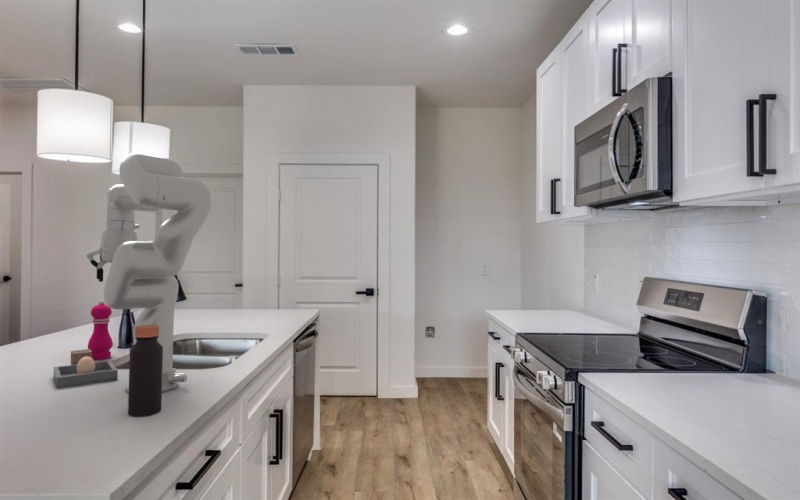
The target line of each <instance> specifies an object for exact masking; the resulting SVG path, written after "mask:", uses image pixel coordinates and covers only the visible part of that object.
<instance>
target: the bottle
mask: <svg viewBox="0 0 800 500" xmlns="http://www.w3.org/2000/svg"><path fill="white" fill-rule="evenodd" d="M158 335H159V326H158V325H142V326H137V327H135V339H136V343H135V344H134V343H133V345H132V347H130V349H129V361H128V362H129V366H128V367H129V368H128V369H129V371H128V384H129V392H128V395H127V397H128V398H127V399H128V401H127V403H128V405H127V413H128V415H129V416H130V417H134V418H135V417H136V418H141V417H148V416H149V417H150V416H152V415H153V416H154V415H156V414H158V413H160V411H161V410H162V398H163V397H162V396H163V395H162V394H163V392H162V364H163V346H162V345H161V344H160V343H159V342H158V341H157V338H158V337H159V336H158Z"/></svg>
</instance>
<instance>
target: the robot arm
mask: <svg viewBox="0 0 800 500" xmlns="http://www.w3.org/2000/svg"><path fill="white" fill-rule="evenodd" d="M183 171H184V170H183V169H182V167H181V165H180V164H179V163H178V162H177V161H174V160H173V159H170V158H166V157H161V156H156V155H155V156H154V155H149V154H145V153H144V154H143V153H136V152H135V153H134V152H133V153H129V154H127V155H126V156H124V157H123V158H122V160H121V162H120V165H119V171H118V172H119V178H120V180H121V183H122V184H115V185H113V186H111V187H110V188H108V190H107V193H106V224H105V226H106V227H105V230H103V231H102V234H101V238H100V245H99V249H96V250H94V251H91V252H89V253H87V254H86V255H85V256H86V258H87V259H88V261H89V263H90V264H91V265H92V266H93V267H95V268H96V280H98V282H99V283H100V282H101V283H103V281H104V269H103V267H104V266H105V265H106V264H108V263H111V264H110V267H109V271H108V273H107V277H106V280H105V282H104V283H105V284H104V288H103V300H104V301H105V303H104V304H105V305H107V306H109V307H110V308H111V310H112V309H113V310H132V309H133V310H134V309H143V310H142V311H141V312H140V314H138V316H137V318H136V320H135V322H134V327H133V345H134V344H135V343H136V339H135V327H137V326H142V325H158V326H159V335H158V336H159V337H158V338H157V341H158V342H159V343H160V344H161V345H162V346H163V364H162V393H163V392H167V391H171V390H173V389H176V388H177V387H178V385H179V383H186V382H187V379H188V376H187V374H186V373H178V372H177V368H175V367H174V368H173V363H174V362H173V360H174V359H173V358H174V357H173V356H174V355H173V354H174V330H175V329H174V325H175V323H174V321H175V310H176V305H177V301H178V294H179V282H178V279H177V278H176V277H175V276H177V275H178V274H179V273H180V272H181V270H182V268H183V266H184V263H185V262H186V258H187V256H188V254H189V252H190V249H191V246H192V244H193V241H194V239H195V238H196V236H197V234H198V233H199V231H200V230H201V229H202V227H203V225H204V224H205V223H206V221H207V218H208V216H209V214H210V210H211V205H212V194H211V191H210V188H209V187H208V185H206V184H205V183H204V182H201V181H199V180H196V179H193V178H187V177H184V172H183ZM160 210H169V211H177V212H176V213H175V214H173V215H171V216H170V217H168V218H167V219H166V220H165V221H163V222H162V224H160V225H159V227H158V229H157V231H156V235H155V237H154V238H153V239H152V240H143V241H142V240H138V233H137V232H136V231H135V230H136V229H140V224H137V223H136V222H135V212H149V213H153V212H155V213H156V212H158V211H160ZM97 255H99V260H100V261H99V262H98V261H96V259H94V257H95V256H97ZM125 391H126V392H127V393H129V383H127V384H126V385H125Z"/></svg>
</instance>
